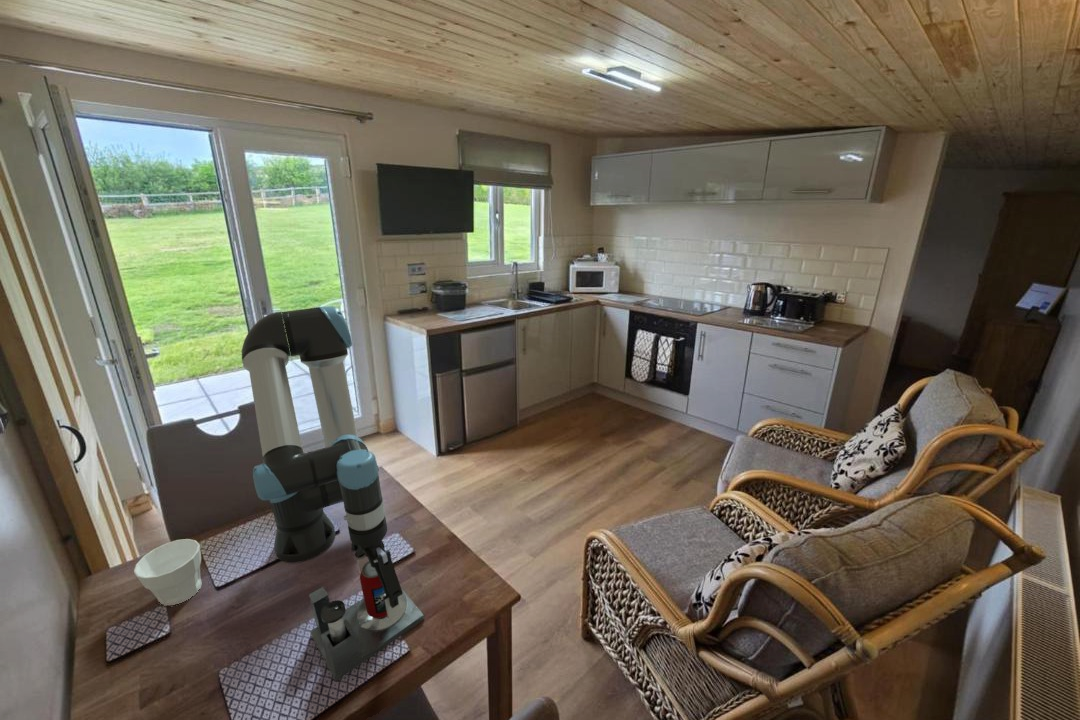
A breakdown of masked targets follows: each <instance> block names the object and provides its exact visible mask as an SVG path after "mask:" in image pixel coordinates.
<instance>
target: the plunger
mask: <svg viewBox="0 0 1080 720" xmlns="http://www.w3.org/2000/svg"><path fill="white" fill-rule="evenodd" d="M346 609H347V608H346V604H345V602H343V601H342V600H338V599H336V600H332V601H330V603H328V604H326V605H325V606H324V607H323V609H322V610H321V618H322V621H323V622H325V623H328V627H329V631H330V635H331V639H332V644H333V647H334V646H336V645H337V644H339V643H340V642H342V641H343V640H345V639H346V638H347V634H346V629H345V625H344V620H343V616H344V614H345V611H346Z"/></svg>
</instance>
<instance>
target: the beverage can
mask: <svg viewBox="0 0 1080 720" xmlns="http://www.w3.org/2000/svg"><path fill="white" fill-rule="evenodd" d="M373 561H374V563H375V562H377V559H376V560H373ZM359 582H360V587H361V591H362V594H363V598H364V601H365V605H366V610H367V613H368V614H369V615H370V616H371V617H375V618H379V617H383V616H386V615H387V610H386V604H385V600H384V599H383V597H384V594H385V591H384V589H383V587H382V584H381V582H380V579H379V577H378V574H377V572H376V570H375V568H373V567H371V564H370V562H369V561H368V562H367V563H366V564H365V565H364V566H363V568H362V572H361V574H360V573H359Z"/></svg>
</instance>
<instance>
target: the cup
mask: <svg viewBox="0 0 1080 720" xmlns="http://www.w3.org/2000/svg"><path fill="white" fill-rule="evenodd" d="M201 563H202V553H201V546H200V543H199V542H198V541H197V540H195V539H190V538H185V539H184V538H183V539H176V540H173V541H170V542H167V543H164V544H162V545H160V546H157V547H155V548H154V549H152V550H151V551H149V552H148V553H146V554H145V555H143V556H142V557H141V558H140V559H139V560H138V562H136V564H135V566H134V569H133V573H134V575H135V576H136V577H137V579H138V580H139V582H140V584H141V585H143V587H144V589H147V590H150V592H151V593H152V594H153V596H155V598H156V599H157V601H158V603H159V602H160V603H161V604H164V605H175V604H179V603H182V602H184V601H186V600H187V601H189V600H190V598H191V597H192V596H193V597H194V596H196V593H197V592H199V591H200V590H201V589H202V583H203V582H202V576H201ZM199 589H200V590H199ZM198 590H199V591H198ZM197 594H198V593H197ZM193 597H192V598H193ZM192 598H191V599H192ZM188 599H189V600H188ZM187 601H186V602H187ZM160 603H159V604H160ZM184 603H185V602H184ZM161 604H160V605H161ZM182 604H183V603H182ZM179 605H180V604H179Z"/></svg>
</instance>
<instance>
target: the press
mask: <svg viewBox="0 0 1080 720" xmlns="http://www.w3.org/2000/svg"><path fill="white" fill-rule="evenodd" d="M401 589H402V591H403V594H402V595H400V596H399V603H400V609H401V612H399V613H398V614H396V615H395V616H393V617H392V618H390V619H389V618H388V616H387V615H386V616H383V617H379V618H375V617H371V616H370V615H369V614H368V613H367V610H366V605H365V601H364V597H363V598H362V599H360V600H359V601H356V603H354V604H352V605H350V606H348V607H347V608H346V611H345V614H344V616H343V620H344V625H345V629H346V634H347V638H346V639H345V640H343V641H342V642H340V643H339V644H337V645H336V646H334V647H333V644H332V639H331V635H330V631H329V627H328V623H325V622H323V621H322V618H321V610H322V609H323V607H324V606H325V605H326V604H328V603H330V602H331V601H330V598H329V594H328V592H327V591H326V589H325V588H324V586H322V587H320V588H318V589H316V590H315V591H313V592H311V593H310V594H308V598H309V601H310V605H311V610H312V613H313V618H314V621H315V626H316V627H314V628H312V629H311V630H310V631H309V632H310V635H311V638H312V640H313V642H314V644H315V646H316V647H317V650H318V651H319V653H320V655H321V657H322V659H323V660H324V662H325V665H326V666H327V669H328V670H329V671H330V674H331V676H332V678H333V680H334V681H335V683H336V682H339V680H341V679H342V678H344V677H345V676H347V673H348V674H350V671H351V672H353V670H354V669H357V668H358V667H359V666H360V665H362V664H363V663H365V662H367V661H368V660H369V659H371V658H372V657H373V656H375V655H377V654H378V653H379V652H381V651H382V650H383V649H385V648H386V647H388V646H389V645H390V644H392V643H394V642H395V641H397V639H399V638H400V637H402V636H403V635H404V634H406V633H408V632H409V631H410V630H412V629H414V627H416V626H417V625H419V624H420V623H422V622H423V621H424V620H425V615H424V613H423V612H422V611H421V610H420V609H419V607H418V606H417V605H416V604H415V603H414V601H413V600H412V599H411V598H410V596H408V594H407V593H406V592H405V591H404V590H403V588H402V587H401ZM344 675H345V676H344ZM343 676H344V677H343ZM340 678H341V679H340Z"/></svg>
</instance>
